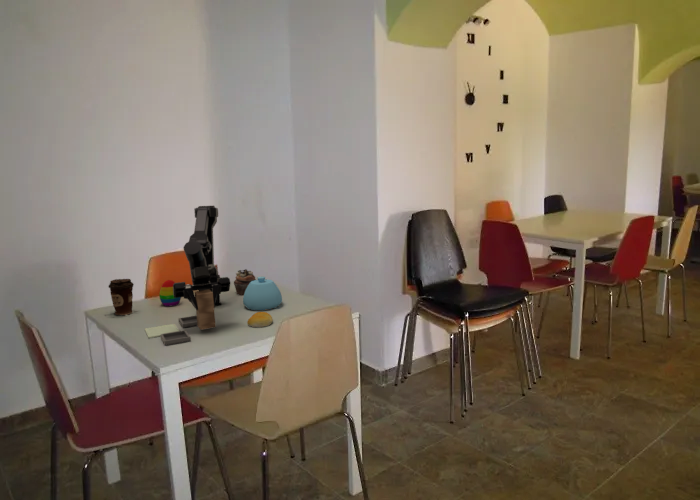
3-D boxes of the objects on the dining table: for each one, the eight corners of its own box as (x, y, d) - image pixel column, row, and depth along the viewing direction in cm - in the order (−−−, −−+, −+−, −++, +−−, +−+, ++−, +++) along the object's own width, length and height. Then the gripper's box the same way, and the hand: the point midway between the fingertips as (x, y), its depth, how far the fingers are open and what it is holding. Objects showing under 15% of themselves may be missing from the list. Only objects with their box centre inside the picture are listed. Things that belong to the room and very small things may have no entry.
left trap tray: (185, 334, 188) (185, 329, 188) (190, 341, 181) (190, 336, 180) (161, 338, 184) (160, 334, 184) (164, 345, 177) (164, 341, 177)
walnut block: (212, 323, 194) (209, 289, 191) (215, 327, 189) (212, 292, 187) (197, 325, 191) (194, 291, 189) (200, 329, 187) (197, 294, 185)
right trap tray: (201, 318, 205) (201, 314, 204) (206, 324, 197) (205, 320, 197) (178, 322, 201) (178, 318, 201) (182, 328, 194) (182, 324, 194)
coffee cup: (120, 318, 208) (116, 283, 206) (106, 315, 212) (102, 281, 210) (140, 311, 215) (137, 278, 213) (126, 309, 220) (123, 276, 217)
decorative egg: (173, 308, 219) (170, 283, 217) (156, 306, 222) (153, 281, 220) (186, 302, 227) (183, 278, 225) (169, 301, 230) (167, 277, 228)
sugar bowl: (278, 299, 228) (276, 271, 226) (286, 308, 214) (284, 279, 212) (241, 303, 223) (239, 275, 221) (246, 313, 209) (244, 283, 207)
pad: (174, 325, 198) (174, 323, 198) (179, 333, 189) (179, 331, 189) (144, 330, 193) (144, 328, 193) (148, 338, 185) (148, 337, 185)
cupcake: (262, 292, 239) (260, 269, 237) (244, 297, 232) (242, 273, 230) (247, 288, 246) (246, 266, 244) (229, 293, 238) (228, 270, 237)
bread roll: (244, 328, 193) (244, 317, 192) (253, 320, 202) (253, 309, 201) (267, 328, 192) (267, 317, 191) (275, 320, 200) (275, 309, 199)
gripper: (170, 259, 186) (176, 300, 178) (227, 254, 193) (235, 292, 185) (170, 277, 195) (176, 317, 187) (225, 271, 201) (232, 309, 193)
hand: (205, 308), depth 188 cm, fingers closed on walnut block, 5 cm apart
